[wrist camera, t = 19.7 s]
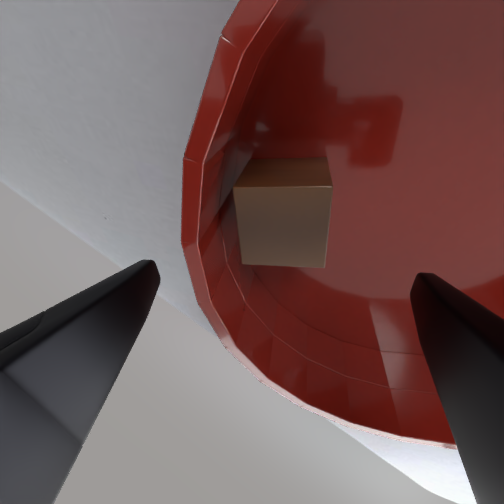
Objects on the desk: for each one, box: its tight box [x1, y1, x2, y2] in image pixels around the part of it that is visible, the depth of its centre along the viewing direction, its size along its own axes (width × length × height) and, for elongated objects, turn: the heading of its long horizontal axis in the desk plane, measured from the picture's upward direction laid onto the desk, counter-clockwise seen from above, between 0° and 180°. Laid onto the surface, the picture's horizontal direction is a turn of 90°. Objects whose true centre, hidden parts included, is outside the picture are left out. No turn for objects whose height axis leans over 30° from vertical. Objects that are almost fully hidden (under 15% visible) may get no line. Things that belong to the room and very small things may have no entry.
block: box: [233, 157, 333, 268], centre depth 13 cm, size 4×4×4 cm
